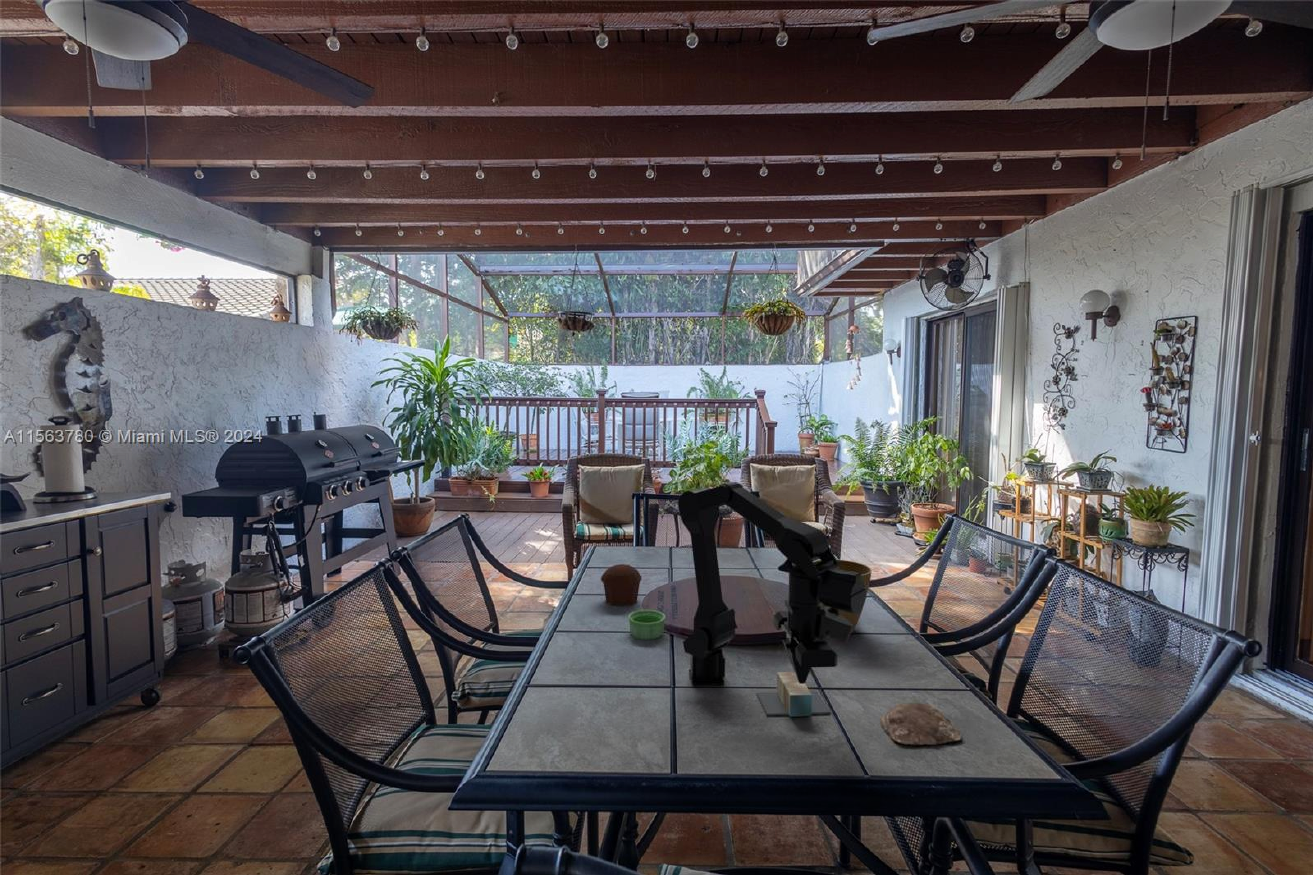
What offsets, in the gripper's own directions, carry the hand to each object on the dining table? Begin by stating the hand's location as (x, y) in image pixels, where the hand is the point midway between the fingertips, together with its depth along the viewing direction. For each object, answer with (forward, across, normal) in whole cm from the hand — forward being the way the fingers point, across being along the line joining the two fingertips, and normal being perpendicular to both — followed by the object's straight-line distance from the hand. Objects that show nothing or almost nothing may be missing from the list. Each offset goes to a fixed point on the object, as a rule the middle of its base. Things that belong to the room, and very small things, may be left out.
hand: (801, 682), depth 111 cm
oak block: (+4, 0, 0) cm, 5 cm away
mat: (+7, +5, 0) cm, 9 cm away
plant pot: (+7, +40, -22) cm, 47 cm away
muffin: (+7, +63, +32) cm, 71 cm away
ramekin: (+7, +40, +26) cm, 49 cm away
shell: (+8, -4, -20) cm, 22 cm away
